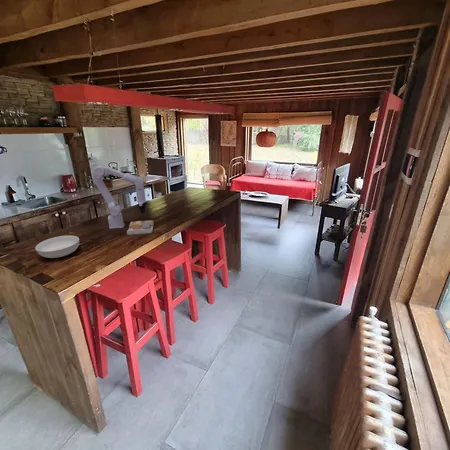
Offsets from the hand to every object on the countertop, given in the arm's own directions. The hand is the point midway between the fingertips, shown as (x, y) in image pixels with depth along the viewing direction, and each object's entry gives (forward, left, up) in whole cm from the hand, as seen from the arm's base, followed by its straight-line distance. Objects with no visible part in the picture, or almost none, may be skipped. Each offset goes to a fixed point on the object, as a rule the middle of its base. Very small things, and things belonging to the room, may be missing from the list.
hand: (143, 212), depth 185 cm
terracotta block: (-4, -11, -6) cm, 13 cm away
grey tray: (-1, -14, -9) cm, 17 cm away
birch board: (-1, -4, -9) cm, 10 cm away
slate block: (+3, -11, -7) cm, 13 cm away
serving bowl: (-42, -39, -9) cm, 58 cm away
